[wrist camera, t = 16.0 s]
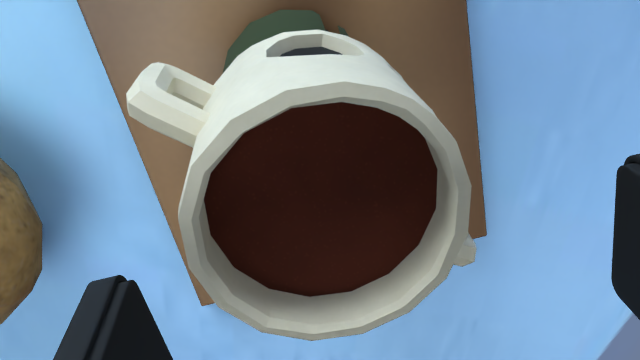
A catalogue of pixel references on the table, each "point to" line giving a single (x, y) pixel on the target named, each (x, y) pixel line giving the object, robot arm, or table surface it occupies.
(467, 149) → the placemat
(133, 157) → the table surface
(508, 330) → the table surface
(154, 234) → the table surface
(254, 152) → the character mug
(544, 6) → the table surface
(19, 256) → the potato
